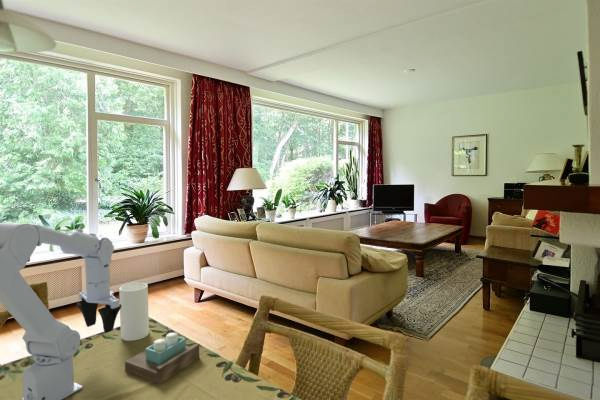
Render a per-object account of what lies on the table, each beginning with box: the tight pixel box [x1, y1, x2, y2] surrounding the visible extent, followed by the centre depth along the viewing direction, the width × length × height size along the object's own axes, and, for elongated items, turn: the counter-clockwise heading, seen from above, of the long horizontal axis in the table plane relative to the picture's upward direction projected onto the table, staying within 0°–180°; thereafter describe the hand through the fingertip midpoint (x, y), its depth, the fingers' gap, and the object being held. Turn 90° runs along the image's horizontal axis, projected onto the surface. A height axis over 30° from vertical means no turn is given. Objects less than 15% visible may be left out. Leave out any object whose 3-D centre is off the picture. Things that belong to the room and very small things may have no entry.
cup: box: [118, 282, 150, 342], centre depth 114 cm, size 8×8×16 cm
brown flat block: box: [124, 343, 200, 385], centre depth 98 cm, size 14×13×4 cm
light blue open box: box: [144, 332, 187, 366], centre depth 98 cm, size 9×5×5 cm, turn 153°
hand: (99, 328), depth 99 cm, fingers open, 7 cm apart
